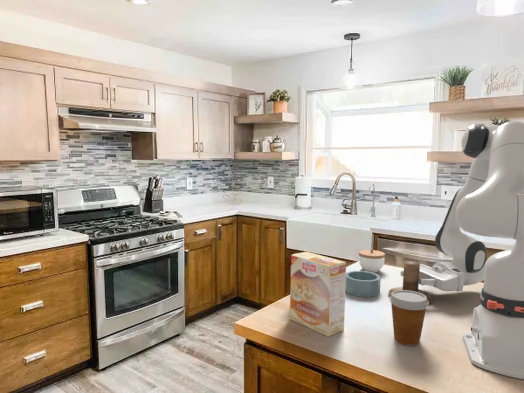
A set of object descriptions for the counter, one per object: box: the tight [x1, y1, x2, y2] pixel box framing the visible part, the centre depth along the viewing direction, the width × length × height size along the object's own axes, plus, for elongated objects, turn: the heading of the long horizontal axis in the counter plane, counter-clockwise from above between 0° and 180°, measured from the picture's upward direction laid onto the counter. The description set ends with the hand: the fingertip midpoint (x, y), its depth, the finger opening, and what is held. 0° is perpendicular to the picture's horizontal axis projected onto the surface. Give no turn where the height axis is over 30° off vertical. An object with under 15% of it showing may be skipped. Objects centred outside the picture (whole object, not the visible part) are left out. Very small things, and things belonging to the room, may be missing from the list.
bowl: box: [345, 270, 382, 298], centre depth 138 cm, size 12×12×6 cm
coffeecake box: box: [289, 251, 347, 337], centre depth 109 cm, size 15×7×20 cm, turn 40°
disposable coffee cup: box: [389, 290, 430, 346], centre depth 101 cm, size 10×10×12 cm
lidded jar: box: [358, 248, 386, 274], centre depth 163 cm, size 11×11×9 cm
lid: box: [388, 260, 433, 305], centre depth 131 cm, size 14×14×12 cm
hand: (410, 277), depth 131 cm, fingers open, 8 cm apart
